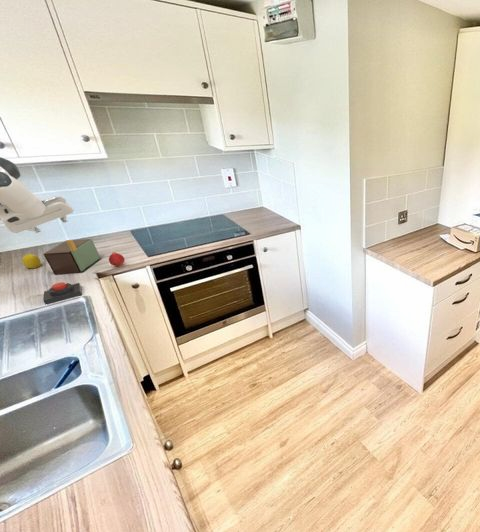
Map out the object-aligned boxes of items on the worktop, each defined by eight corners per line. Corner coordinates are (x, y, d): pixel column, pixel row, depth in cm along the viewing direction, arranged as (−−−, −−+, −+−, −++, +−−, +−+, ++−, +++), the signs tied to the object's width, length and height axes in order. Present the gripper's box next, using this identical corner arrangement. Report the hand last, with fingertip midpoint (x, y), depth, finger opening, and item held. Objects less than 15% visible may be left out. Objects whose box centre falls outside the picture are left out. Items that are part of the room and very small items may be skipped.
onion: (112, 270, 155) (105, 255, 152) (111, 266, 159) (105, 251, 155) (127, 266, 159) (121, 252, 155) (126, 262, 162) (120, 248, 159)
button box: (45, 305, 129) (40, 296, 127) (46, 295, 135) (41, 287, 133) (82, 295, 135) (78, 287, 134) (81, 287, 141) (77, 279, 139)
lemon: (31, 267, 156) (22, 252, 152) (46, 265, 158) (38, 250, 154) (25, 272, 152) (16, 257, 148) (40, 270, 153) (32, 255, 150)
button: (53, 291, 131) (51, 288, 130) (53, 288, 133) (51, 284, 133) (66, 288, 133) (65, 284, 132) (66, 284, 136) (65, 281, 135)
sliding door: (84, 271, 153) (69, 241, 146) (80, 271, 152) (65, 241, 145) (102, 257, 166) (89, 229, 159) (99, 257, 165) (86, 229, 158)
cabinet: (82, 272, 152) (72, 251, 147) (54, 274, 150) (43, 253, 145) (102, 258, 166) (93, 238, 161) (76, 260, 164) (66, 240, 159)
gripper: (56, 189, 129) (77, 210, 141) (-10, 212, 120) (18, 231, 131) (64, 200, 128) (84, 220, 140) (-3, 223, 118) (25, 242, 130)
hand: (51, 225), depth 136 cm, fingers open, 8 cm apart
